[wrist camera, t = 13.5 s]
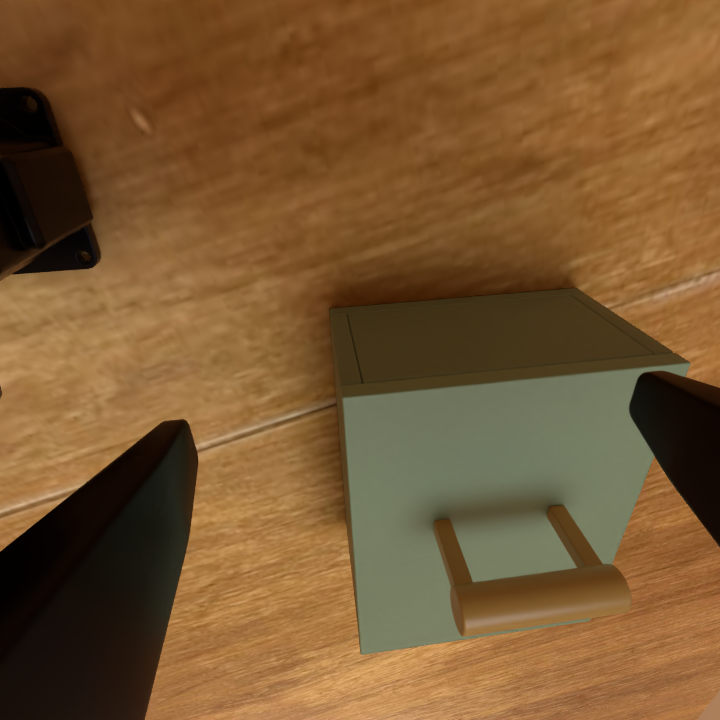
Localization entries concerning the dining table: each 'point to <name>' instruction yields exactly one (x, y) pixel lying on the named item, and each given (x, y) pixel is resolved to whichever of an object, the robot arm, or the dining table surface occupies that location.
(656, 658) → the dining table surface
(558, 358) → the green box
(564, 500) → the lid
